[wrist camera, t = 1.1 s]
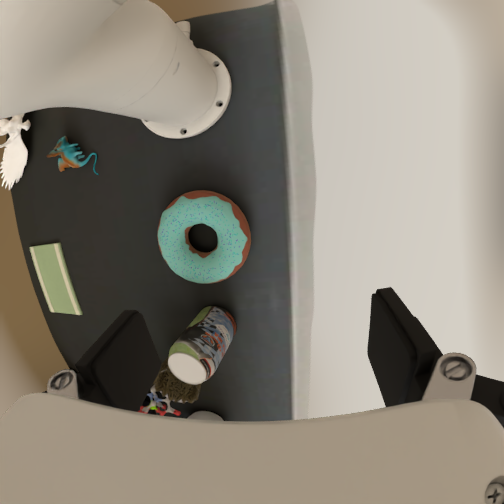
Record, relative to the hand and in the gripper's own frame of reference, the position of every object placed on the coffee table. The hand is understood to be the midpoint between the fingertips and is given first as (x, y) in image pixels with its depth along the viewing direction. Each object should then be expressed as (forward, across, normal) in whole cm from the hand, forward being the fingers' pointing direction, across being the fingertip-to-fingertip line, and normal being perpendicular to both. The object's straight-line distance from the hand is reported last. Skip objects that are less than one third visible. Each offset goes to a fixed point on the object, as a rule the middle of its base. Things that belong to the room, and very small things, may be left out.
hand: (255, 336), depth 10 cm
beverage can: (+25, +10, +14) cm, 31 cm away
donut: (+25, +9, +1) cm, 27 cm away
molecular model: (+20, +22, +31) cm, 43 cm away
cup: (+26, +17, +22) cm, 37 cm away
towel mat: (+25, +41, +6) cm, 48 cm away
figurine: (+16, +48, -26) cm, 57 cm away
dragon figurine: (+25, +27, -14) cm, 39 cm away
